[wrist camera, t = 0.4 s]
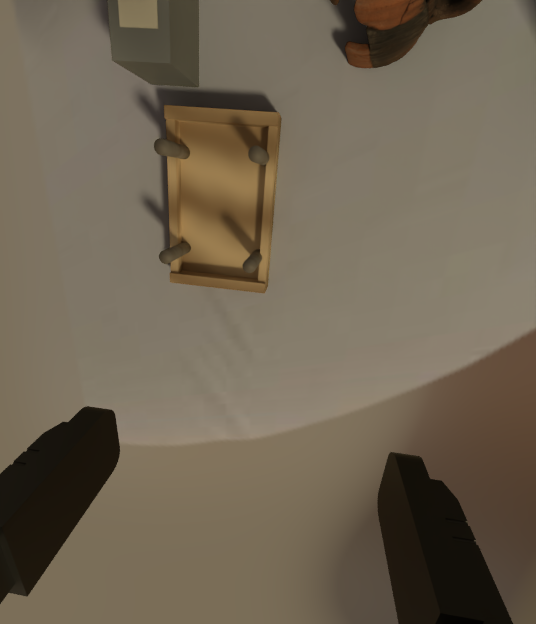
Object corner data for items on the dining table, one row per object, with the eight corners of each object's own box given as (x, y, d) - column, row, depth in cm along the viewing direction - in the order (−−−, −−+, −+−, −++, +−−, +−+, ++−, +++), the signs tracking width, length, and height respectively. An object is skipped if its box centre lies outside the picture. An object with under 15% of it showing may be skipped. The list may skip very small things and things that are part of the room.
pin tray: (175, 111, 31) (144, 94, 25) (281, 118, 30) (274, 103, 24) (179, 276, 37) (155, 292, 31) (267, 286, 36) (259, 304, 30)
